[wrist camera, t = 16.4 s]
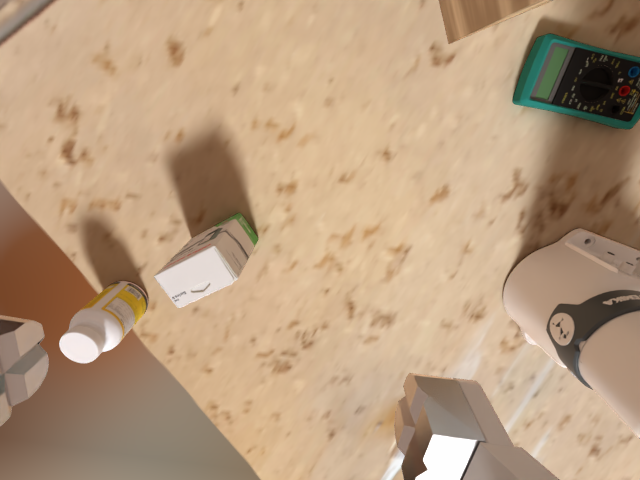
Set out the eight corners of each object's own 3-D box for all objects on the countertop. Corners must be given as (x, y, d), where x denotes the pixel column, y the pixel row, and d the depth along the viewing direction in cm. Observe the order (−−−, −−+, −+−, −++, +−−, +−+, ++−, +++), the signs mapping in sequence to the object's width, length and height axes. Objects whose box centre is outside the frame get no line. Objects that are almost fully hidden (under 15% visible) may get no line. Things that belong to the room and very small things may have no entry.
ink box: (240, 210, 47) (215, 243, 36) (260, 240, 49) (240, 280, 38) (189, 238, 49) (150, 277, 38) (210, 266, 51) (177, 311, 40)
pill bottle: (102, 304, 53) (45, 355, 43) (114, 271, 51) (57, 317, 40) (142, 322, 54) (96, 376, 44) (156, 291, 52) (111, 340, 41)
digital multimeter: (620, 129, 43) (640, 131, 40) (507, 103, 42) (519, 103, 39) (653, 65, 40) (677, 62, 38) (533, 35, 40) (548, 30, 37)
